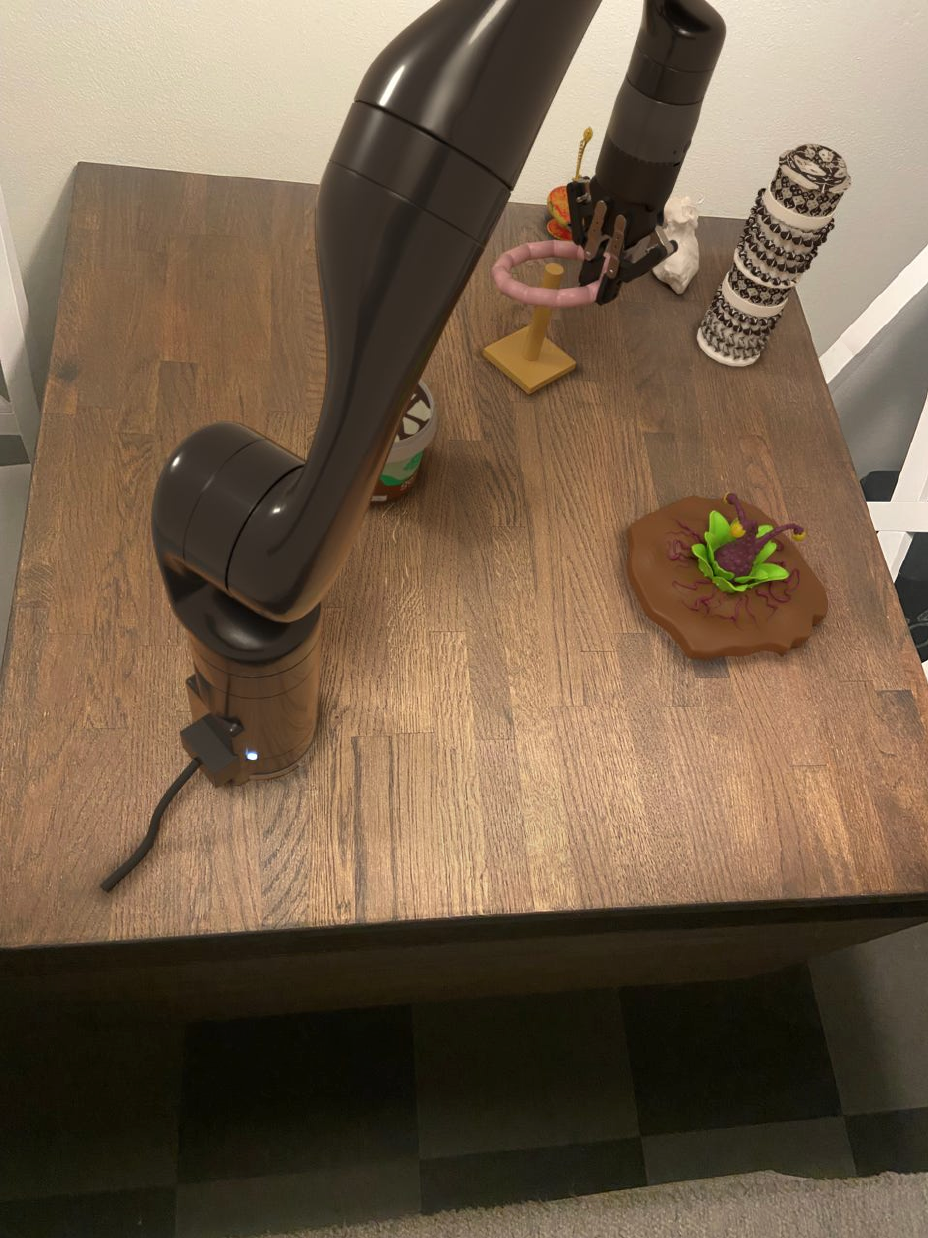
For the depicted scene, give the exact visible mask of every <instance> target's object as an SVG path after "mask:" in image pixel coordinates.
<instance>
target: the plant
mask: <svg viewBox="0 0 928 1238" xmlns="http://www.w3.org/2000/svg"><path fill="white" fill-rule="evenodd" d="M789 530H792V532H791V536H792V539H793V540H794V541H796V542H801V541H804V539H805V538H806V530H805V528H803V526H801V525H798V524H796V523H786V524H783V525H779V523H778V522H777V521H776V520H775V519H774V518H771V517H769V516H768V515H767V514H765V512H763V511H762V510H761V509H760V508H758V507H757V506H756V505H753V504H751V503H749V502H747V501H745V500H742V499H740V498H739V497H738V495H737V494H736V493H735V492H733V491H728V492H726V493H725V494H724V497H722V498H719V499H711V498H704V497H701V496H698V495H690V496H686V497H683V498H681V499H680V500H678V501H675V502H674V503H670V504H669V505H666V506H664V507H661V508H659V509H657V510H655V511H652V512H649V513H648V514H646V515H643V517H640V518H639V519H638V520H636V521H634V522H633V523H632V524H631V525H630V526H629V528H628V531H627V532H626V541H627V551H628V554H627V555H628V557H627V561H626V574H627V578H628V581H629V584H630V586H631V589H632V590H633V591H634V594H635V596H636V598H637V601H639V604H640V607H641V608H642V611H643V612H644V614H645V616H646V617H647V618H648V619H649V620H650V621H651V622H652V623H655V624H656V625H658V626H659V627H661V628H662V629H663V630H664V631H665V632H667V633H668V635H669V636H670V637H671V638H672V639H673V640H674V642H675V643H676V644H677V645H678V646H679V647H680V649H681V651H682V652H683V654H684V655H685V657H686V658H687V659H692V660H701V661H702V660H703V661H712V660H715V659H718V658H722V657H723V658H724V657H735V658H739V657H740V658H741V657H745V656H749V655H752V654H757V653H760V652H773V653H777V654H778V656H780V657H782V658H783V657H784V655H785V654H787V652H788V651H789V650H790V649H793V648H800V647H802V646H803V645H804V644H805V643H806V642H807V641H808V640H809V639H810V638H811V636H812V635H813V626H817V625H819V624H820V623H822V621H823V620H824V619H825V618H826V617H827V616H828V607H829V599H828V595H827V590H826V588H825V586H824V584H823V583H822V582H821V580H820V579H819V577H818V576H817V575H816V573H815V572H814V571H813V570H812V568H811V567H810V566H809V563H808V562H807V561H806V560H805V558H804V557H803V555H802V554H801V552H800V550H799V549H798V548H797V547H796V545H795V544H794V543H793V542H792V541H791V539H790V538H789V537H788V536H786V534H785V533H784V532H786V531H789Z"/></svg>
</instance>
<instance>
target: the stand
mask: <svg viewBox="0 0 928 1238" xmlns="http://www.w3.org/2000/svg"><path fill="white" fill-rule="evenodd" d="M564 272H565V269H564V268H563V266H562V265H561V264H559V263H555V262H549V263H548V264H546V265H545V268H544V271H543V274H542V279H541V283H540V286H539V288H545V289H555V290H560V286H561V282H562V279H563V276H564ZM553 310H554V308H550V307H541V306H534V309H533V311H532V316H531V320H530V323H529V324H528V325H526V326H525V327H522V328H520V329H518V330H516V331H514V332H512V333H510V334H508V335H506V336H505V337H502V338H500V339H499V340H497V341H494V342H493V343H491V344H489V345H487V346H485V347H484V348H483V349H482V354H481V355H482V356H483V357H484V358H485V359H487V360H488V361H489V362H490V363H491V364H492V365H494V366H495V368H497V369H498V370H499V371H500V372H502V373H503V374H504V375H505V376H507V378H509V379H510V380H511V381H512V382H513V383H515V384H516V385H517V386H518V387H519V388H520V389H521V390H523V391H524V392H525V393H526V394H527V395H531V394H533V393H534V392H536V391H538V390H540V389H541V388H543V387H545V386H547V385H548V384H550V383H552V382H554V381H556V380H558V379H560V378H561V377H563V376H564V375H566V374H568V373H570V372H572V371H574V370H575V369H576V366H577V361H575V360H574V359H573V358H572V357H571V356H569V355H568V354H567V353H566V352H565V351H563V350H562V349H561V348H560V347H559V346H557V344H555V343H554V342H553V341H552V340H550V339H549V338H548V337H547V336H546V333H547V331H548V328H549V323H550V320H551V316H552V313H553Z"/></svg>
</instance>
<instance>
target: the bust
mask: <svg viewBox="0 0 928 1238" xmlns="http://www.w3.org/2000/svg"><path fill="white" fill-rule="evenodd" d="M699 212H700V209H698V208H697V206H696V205H695V204H692V198H691V196H689V195H686V196H684V197H670V198H669V199H668V201H667V203H666V205H665V208H664V224H667V226H666V228H664V229H663V230H664V232H665V234H666V236H667V238H668V240H669V241H670V240H675V241H676V242H677V243H678V250H677V252H675V253H674V254H672V255H671V256H670V257H668V258H667V259H665V260H664V261H663V262H661V263H660V264H658V265H657V266H656V267H654V268H653V269H651V271H652V272H653V274H654V275H655V277H656V278H657V279H658V280H659V281H661V282H663V283H665V284H668V285H669V286H670V288H671V289H672V290H673V291H674V292H675V293H676V294H677V295H681V294H684V292H685V291H686V289H687V287H688V285H689V284H690V282H691V281H692V279H693V278H694V276H695V275H696V274H697V273H698V271H699V263H700V251H699V242H698V240H697V237H696V236H695V234H696V233H695V230H697V229H698V226H699V222H698V219H699Z"/></svg>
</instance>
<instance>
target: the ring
mask: <svg viewBox="0 0 928 1238" xmlns="http://www.w3.org/2000/svg"><path fill="white" fill-rule="evenodd" d="M583 252H584V250H583V249H582V247H581V246H580V245H575V243H574V242H573V241H563V240H560V239H549V240H542V241H541V240H540V241H534V242H533V241H532V242H526V243H522V244H521V245H519V246H516V247H514V248H512V249H509V250H507V251H505V252H503V253H501V254H500V255H499V257H498V258H497V260H496V262H495V263H494V265H493V266H492V268H491V270H490V277H491V279H492V281H493V283H494V285H495V286H496V287H497V289H498V291H499V293H500V294H502V295H503V296H506V297H507V298H510V299H512V300H515V301H517V302H519V303H522V304H523V305H526V306H532V307H535V306H541V307H550V308H553V309H563V308H571V307H577V306H578V307H579V306H585V305H590V304H591V305H592V304H593V303H595V300H596V296H597V292H598V289H599V286H600V283H601V280H602V277H603V274H604V273H606V272H607V267H608V263H609V259H610V254H609V251H607V252H606V253H604V256H605V257H606V260H605V263H604V266H603V269H602V272H601V276H600V278H599V279H598V280H597V281H595V282H593V283H591V284H589V285H587V286H583V287H579V286H577V287H576V286H575V287H570V288H562V289H558V290H555V289H545V288H540V287H536V286H530V285H527V284H525V283H523V282H521V281H518V280H516V279H513V277H512V275H511V274H510V273H511V271H512V269H514V268H516V267H518V266H519V265H522V264H524V263H526V262H528V261H535V260H542V259H549V258H558V259H568V260H578V261H580V262H583V261H584V254H583Z"/></svg>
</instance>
